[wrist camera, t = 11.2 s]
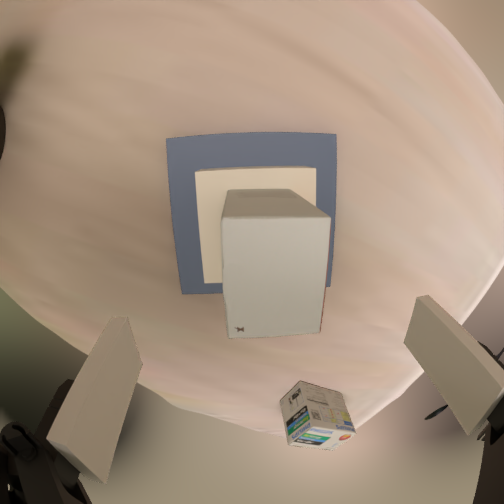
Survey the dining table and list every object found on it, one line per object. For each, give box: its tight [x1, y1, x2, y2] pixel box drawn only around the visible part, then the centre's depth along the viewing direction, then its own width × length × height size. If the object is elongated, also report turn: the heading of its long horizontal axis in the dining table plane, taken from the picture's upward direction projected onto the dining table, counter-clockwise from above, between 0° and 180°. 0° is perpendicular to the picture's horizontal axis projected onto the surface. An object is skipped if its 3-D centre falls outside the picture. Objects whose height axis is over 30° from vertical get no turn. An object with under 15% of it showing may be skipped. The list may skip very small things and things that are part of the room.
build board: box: [166, 132, 337, 294], centre depth 31 cm, size 20×20×6 cm
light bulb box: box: [280, 381, 356, 450], centre depth 42 cm, size 11×7×11 cm, turn 60°
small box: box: [220, 189, 332, 339], centre depth 22 cm, size 8×6×13 cm
